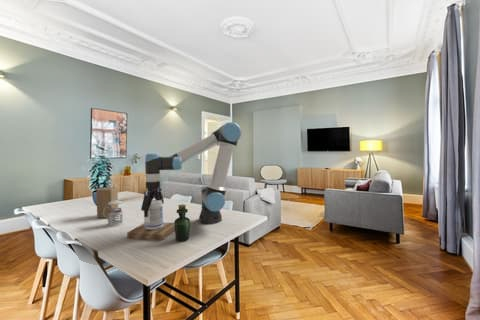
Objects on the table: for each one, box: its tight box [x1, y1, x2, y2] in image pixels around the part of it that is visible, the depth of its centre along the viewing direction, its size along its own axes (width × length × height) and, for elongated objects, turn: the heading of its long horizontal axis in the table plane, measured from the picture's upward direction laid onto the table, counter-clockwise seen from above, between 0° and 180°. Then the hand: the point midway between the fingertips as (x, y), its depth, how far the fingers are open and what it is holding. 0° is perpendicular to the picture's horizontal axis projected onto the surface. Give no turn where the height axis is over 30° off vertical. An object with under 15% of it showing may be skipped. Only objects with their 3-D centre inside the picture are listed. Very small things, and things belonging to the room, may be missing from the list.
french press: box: [103, 184, 125, 228], centre depth 135 cm, size 10×12×25 cm
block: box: [96, 186, 119, 219], centre depth 153 cm, size 10×10×20 cm
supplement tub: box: [145, 199, 164, 230], centre depth 122 cm, size 10×10×15 cm
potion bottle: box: [173, 203, 191, 243], centre depth 112 cm, size 8×8×18 cm
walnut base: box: [126, 222, 175, 241], centre depth 122 cm, size 20×18×3 cm
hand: (153, 218), depth 122 cm, fingers open, 13 cm apart
